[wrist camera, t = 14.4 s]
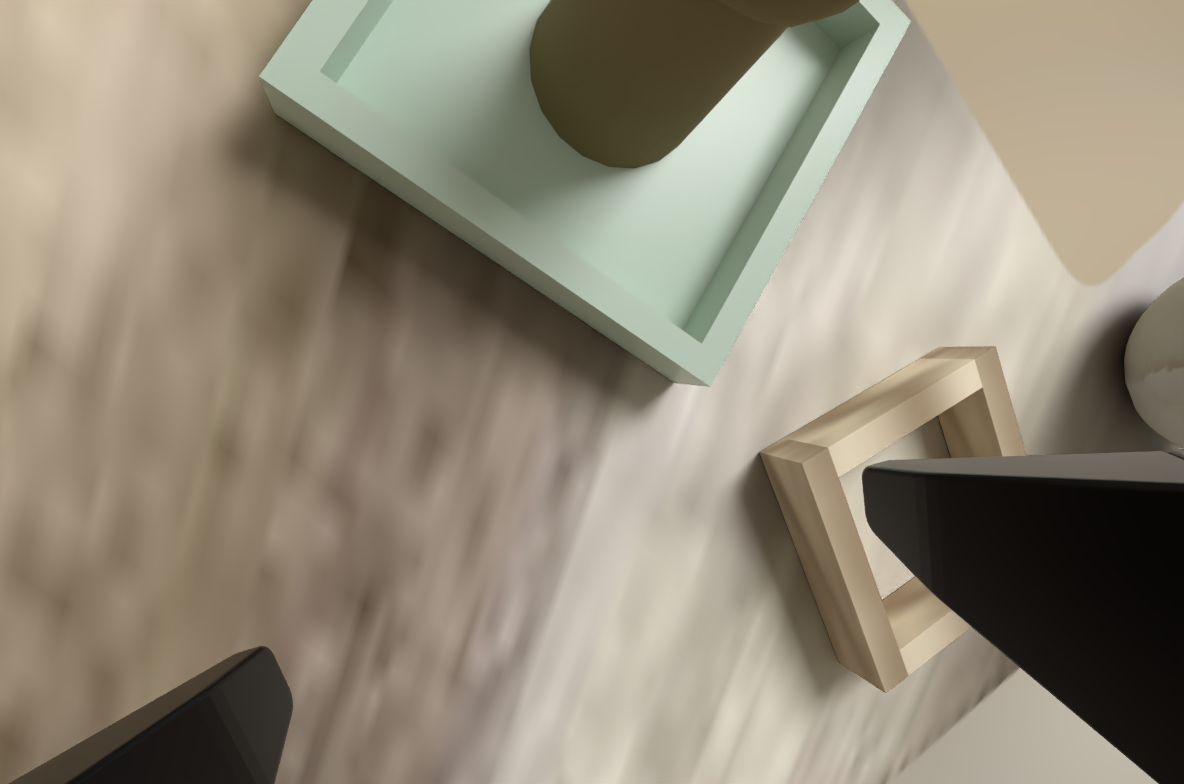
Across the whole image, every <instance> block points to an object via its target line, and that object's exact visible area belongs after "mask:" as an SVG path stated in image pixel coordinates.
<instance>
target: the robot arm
mask: <svg viewBox="0 0 1184 784" xmlns="http://www.w3.org/2000/svg"><path fill="white" fill-rule="evenodd" d="M862 484H863V494H864V505H865V514H866V519H867V522H868V524H869V526H870V528H871V529H872V531H873V532H874V533H875V535H876V536H877V537H878V538H879V539H880V540H881V541H882V542H883V543H884V544H885V545H886V546H887V547H888V548H889V549H890V550H891V551H892V552H893V553H894V554H895V556H896V557H897V558H898V559H899V560H900V561H901V562H902V563H903V564H904V565H905V566H906V567H907V568H908V569H909V570H910V571H911V572H912V573H913V574H914V575H915V576H916V577H917V578H918V580H919V581H920V582H921V583H922V584H923V585H924V586H925V587H926V588H927V589H928V590H930V591H931V592H932V593H933V594H934V595H935V596H936V597H937V598H938V599H939V600H940V601H942V602H943V603H944V604H945V605H946V606H947V607H949V608H950V609H951V610H952V611H953V612H954V613H956V614H957V615H958V616H959V617H960V618H962V619H963V620H964V621H965V622H966V623H968V624H969V625H970V626H971V627H972V628H974V629H975V630H976V631H977V632H978V633H980V634H981V635H982V636H983V637H984V638H986V639H987V640H988V641H989V642H990V643H991V644H993V645H994V646H995V647H996V648H997V649H999V650H1000V651H1001V652H1002V653H1003V654H1005V655H1006V656H1007V657H1008V658H1009V659H1011V660H1012V661H1013V662H1014V663H1015V664H1017V665H1018V666H1019V667H1020V668H1021V669H1022V670H1024V671H1025V672H1026V673H1027V674H1028V675H1030V676H1031V677H1032V678H1033V679H1034V680H1036V681H1037V682H1038V683H1039V684H1040V685H1042V686H1043V687H1044V688H1045V689H1046V690H1048V691H1049V692H1050V693H1051V694H1052V695H1054V696H1055V697H1056V698H1057V699H1058V700H1059V701H1061V702H1062V703H1063V704H1064V705H1066V706H1067V707H1068V708H1069V709H1070V710H1072V711H1073V712H1074V713H1075V714H1076V715H1077V716H1079V717H1080V718H1081V719H1082V720H1083V721H1085V722H1086V723H1087V724H1088V725H1089V726H1090V727H1092V728H1093V729H1094V730H1095V731H1097V732H1098V733H1099V734H1100V735H1101V736H1103V737H1104V738H1105V739H1106V740H1107V741H1108V742H1110V743H1111V744H1112V745H1113V746H1114V747H1116V748H1117V749H1118V750H1119V751H1120V752H1121V753H1123V754H1124V755H1125V756H1126V757H1127V758H1129V759H1130V760H1131V761H1132V762H1134V763H1135V764H1136V765H1137V766H1138V767H1139V768H1141V769H1142V770H1143V771H1144V772H1145V773H1146V774H1148V775H1149V776H1150V777H1151V778H1152V779H1154V780H1155V781H1156V782H1157V783H1158V784H1184V449H1177V450H1170V451H1169V452H1168V453H1166V452H1164V451H1148V452H1118V453H1089V454H1059V455H1030V456H1000V457H971V458H941V459H912V460H888V461H884V462H880V463H877V464H873V465H870V466H867V467H866V468H865V469H864V470H863V473H862ZM292 710H293V700H292V694H291V691H290V688H289V686H288V684H287V682H286V680H285V678H284V676H283V674H282V671H281V669H280V667H279V665H278V663H277V661H276V659H275V657H274V655H273V653H272V651H271V650H270V649H269V648H267V647H265V646H259V647H256V648H253V649H249V650H246V651H243V652H239V653H237V654H234V655H232V656H231V657H229V658H227V659H225V660H224V661H222V662H220V663H218V664H217V665H215V666H213V667H211V668H210V669H208V670H206V671H204V672H203V673H201V674H199V675H197V676H196V677H194V678H192V679H190V680H189V681H187V682H185V683H183V684H182V685H180V686H178V687H176V688H175V689H173V690H171V691H169V692H168V693H166V694H164V695H163V696H161V697H159V698H157V699H156V700H154V701H152V702H150V703H149V704H147V705H145V706H143V707H142V708H140V709H138V710H136V711H135V712H133V713H131V714H129V715H128V716H126V717H124V718H122V719H121V720H119V721H117V722H115V723H114V724H112V725H110V726H108V727H107V728H105V729H103V730H101V731H100V732H98V733H96V734H94V735H93V736H91V737H89V738H87V739H86V740H84V741H82V742H80V743H79V744H77V745H75V746H74V747H72V748H70V749H68V750H67V751H65V752H63V753H61V754H60V755H58V756H56V757H54V758H53V759H51V760H49V761H47V762H46V763H44V764H42V765H40V766H39V767H37V768H35V769H33V770H32V771H30V772H28V773H26V774H25V775H23V776H21V777H19V778H18V779H16V780H14V781H12V782H11V783H9V784H275V780H276V776H277V772H278V768H279V764H280V760H281V756H282V752H283V748H284V744H285V740H286V736H287V732H288V727H289V723H290V719H291V715H292Z"/></svg>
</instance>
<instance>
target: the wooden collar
mask: <svg viewBox="0 0 1184 784" xmlns="http://www.w3.org/2000/svg"><path fill="white" fill-rule="evenodd" d="M936 416H938V417H939V421H940V424H941V427H942V430H943V434H944V437H945V440H946V443H947V446H948V450H949V453H950V456H951V458H971V457H1000V456H1026V453H1025V449H1024V446H1023V442H1022V438H1021V435H1020V431H1019V428H1018V424H1017V421H1016V417H1015V414H1014V410H1013V407H1012V403H1011V399H1010V396H1009V392H1008V389H1007V385H1006V382H1005V378H1004V375H1003V371H1002V368H1001V364H1000V360H999V357H998V353H997V350H996V346H989V347H939V348H937V349H936V350H934V351H932V352H931V353H929V354H927V355H925V356H924V357H922V358H920V359H919V360H917V361H915V362H913V363H912V364H910V365H908V366H907V367H905V368H903V369H901V370H900V371H898V372H896V373H895V374H893V375H891V376H889V377H888V378H886V379H884V380H883V381H881V382H879V383H877V384H876V385H874V386H872V387H871V388H869V389H867V390H865V391H864V392H862V393H860V394H859V395H857V396H855V397H853V398H852V399H850V400H848V401H847V402H845V403H843V404H841V405H840V406H838V407H836V408H834V409H833V410H831V411H829V412H828V413H826V414H824V415H822V416H821V417H819V418H817V419H816V420H814V421H812V422H810V423H809V424H807V425H805V426H804V427H802V428H800V429H798V430H797V431H795V432H793V433H792V434H790V435H788V436H786V437H785V438H783V439H781V440H780V441H778V442H776V443H774V444H773V445H771V446H769V447H768V448H766V449H764V450H762V451H761V452H759V453H760V455H761V458H762V461H763V463H764V466H765V469H766V471H767V474H768V477H769V479H770V482H771V484H772V487H773V490H774V492H775V495H776V498H777V500H778V503H779V506H780V508H781V511H782V514H783V516H784V519H785V521H786V524H787V527H788V529H789V532H790V535H791V537H792V540H793V543H794V545H795V548H796V551H797V553H798V556H799V558H800V561H801V564H802V566H803V569H804V572H805V574H806V577H807V580H808V582H809V585H810V587H811V590H812V593H813V595H814V598H815V601H816V603H817V606H818V609H819V611H820V614H821V617H822V619H823V622H824V624H825V627H826V630H827V632H828V635H829V638H830V640H831V643H832V646H833V648H834V651H835V654H836V656H837V659H838V661H839V663H841V664H842V665H844V666H845V667H847V668H848V669H850V670H851V671H853V672H854V673H856V674H857V675H859V676H860V677H862V678H863V679H865V680H866V681H868V682H869V683H871V684H872V685H874V686H875V687H877V688H878V689H880V690H881V691H883V692H884V693H887V692H888V691H889V690H891V689H892V688H893V687H895V686H896V685H897V684H898V683H900V682H901V681H902V680H904V679H905V678H906V677H907V676H909V675H910V674H911V673H913V672H914V671H915V670H916V669H918V668H919V667H920V666H922V665H923V664H924V663H925V662H927V661H928V660H929V659H931V658H932V657H933V656H934V655H936V654H937V653H938V652H940V651H941V650H942V649H943V648H945V647H946V646H947V645H949V644H950V643H951V642H952V641H954V640H955V639H956V638H958V637H959V636H960V635H961V634H963V633H964V632H965V631H967V630H968V629H969V628H970V627H971V626H970V625H969V624H968V623H966V622H965V621H964V620H963V619H962V618H960V617H959V616H958V615H957V614H956V613H954V612H953V611H952V610H951V609H950V608H949V607H947V606H946V605H945V604H944V603H943V602H942V601H940V600H939V599H938V598H937V597H936V596H935V595H934V594H933V593H932V592H931V591H930V590H928V589H927V588H926V587H925V586H924V585H923V584H922V583H921V582H920V581H919V580H918V578H917V577H914V578H913V579H912V580H910V581H909V582H907V583H906V584H905V585H903V586H902V587H900V588H899V589H898V590H896V591H895V592H893V593H892V594H891V595H889V596H888V597H886V598H885V599H884V600H882V599H881V596H880V594H879V591H878V588H877V585H876V582H875V579H874V577H873V574H872V571H871V568H870V565H869V562H868V560H867V557H866V554H865V551H864V548H863V545H862V543H861V540H860V537H859V534H858V531H857V528H856V526H855V523H854V520H853V517H852V514H851V511H850V509H849V506H848V503H847V500H846V497H845V494H844V492H843V489H842V486H841V483H840V480H839V477H840V476H842V475H843V474H845V473H846V472H848V471H850V470H851V469H853V468H854V467H856V466H858V465H859V464H861V463H862V462H864V461H866V460H867V459H869V458H870V457H872V456H874V455H875V454H877V453H878V452H880V451H882V450H883V449H885V448H886V447H888V446H890V445H891V444H893V443H894V442H896V441H898V440H899V439H901V438H902V437H904V436H906V435H907V434H909V433H910V432H912V431H914V430H915V429H917V428H918V427H920V426H922V425H923V424H925V423H926V422H928V421H930V420H931V419H933V418H934V417H936Z"/></svg>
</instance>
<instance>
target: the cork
mask: <svg viewBox="0 0 1184 784" xmlns="http://www.w3.org/2000/svg"><path fill="white" fill-rule="evenodd" d="M859 1H860V0H551V1H550V2H549V3H548V5H547V6H546V8H545V9H544V11H543V12H542V14H541V15H540V16H539V18H538V19H537V22H536V26H535V30H534V33H533V37H532V41H531V45H530V48H529V51H530V72H531V82H532V85H533V88H534V91H535V94H536V97H537V100H538V102H539V105H540V108H541V111H542V112H543V114H544V115H545V117H546V118H547V120H548V121H549V123H550V124H551V126H552V127H553V128H554V130H555V131H556V133H557V134H558V136H559V137H560V138H561V139H563V140H564V141H565V142H566V143H567V144H569V145H570V146H571V147H572V148H573V149H575V150H576V151H577V152H578V153H579V154H581V155H582V156H584V157H586V158H588V159H591V160H593V161H596V162H598V163H601V164H603V165H605V166H608V167H619V168H638V167H641V166H645V165H648V164H651V163H655V162H658V161H660V160H661V159H662V158H664V157H665V156H666V155H668V154H669V153H670V152H671V151H673V150H674V149H675V148H677V147H678V146H679V145H680V144H681V143H682V142H683V141H684V140H685V139H686V137H687V136H688V135H689V134H690V133H691V132H692V131H693V130H694V129H695V128H696V127H697V126H698V124H699V123H700V122H701V121H702V120H703V119H704V118H705V117H706V116H707V115H708V114H709V113H710V111H711V110H712V109H713V108H714V107H715V106H716V105H717V104H718V103H719V102H720V101H721V100H722V98H723V97H724V96H725V95H726V94H727V93H728V92H729V91H730V90H731V89H732V88H733V87H734V85H735V84H736V83H737V82H738V81H739V80H740V79H741V78H742V77H743V76H744V75H745V74H746V73H747V71H748V70H749V69H750V68H751V67H752V66H753V65H754V64H755V63H756V62H757V61H758V60H759V58H760V57H761V56H762V55H763V54H764V53H765V52H766V51H767V50H768V49H769V48H770V47H771V45H772V44H773V43H774V42H775V41H776V40H777V39H778V38H779V37H780V36H781V35H782V34H783V32H784V31H785V30H786V29H787V28H788V27H794V26H798V25H802V24H806V23H810V22H814V21H818V20H821V19H824V18H827V17H830V16H833V15H836V14H839V13H842V12H844V11H846V10H847V9H849V8H850V7H851V6H853V5H854V4H856V3H857V2H859Z"/></svg>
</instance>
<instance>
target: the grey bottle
mask: <svg viewBox="0 0 1184 784" xmlns="http://www.w3.org/2000/svg"><path fill="white" fill-rule="evenodd" d="M1124 366H1125V382H1126V385H1127V388H1128V390H1129V393H1130V396H1131V398H1132V401H1133V404H1134V406H1135V409H1136V411H1137V412H1138V413H1139V415H1140V416H1141V417H1142V419H1143V420H1144V421H1145V422H1146V423H1147V424H1148V425H1149V426H1150V427H1151V428H1152V429H1153V430H1155V431H1156V432H1157V433H1159V434H1160V435H1161V436H1163V437H1164V438H1165V439H1167V440H1169V441H1170V442H1172V443H1174V444H1176V445H1177V446H1179V447H1181V448H1183V449H1184V278H1182V279H1181V280H1179V281H1178V282H1176V283H1175V284H1173V285H1172V286H1170V287H1169V288H1168V289H1167V290H1166V291H1164V292H1163V293H1162V294H1161V295H1160V296H1159V297H1158V298H1157V299H1156V300H1155V301H1154V302H1153V303H1152V304H1151V305H1150V306H1149V307H1148V309H1147V310H1146V311H1145V312H1144V313H1143V314H1142V316H1141V317H1140V318H1139V320H1138V322H1137V323H1136V325H1135V327H1134V329H1133V331H1132V333H1131V335H1130V337H1129V340H1128V343H1127V346H1126V351H1125V358H1124Z"/></svg>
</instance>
